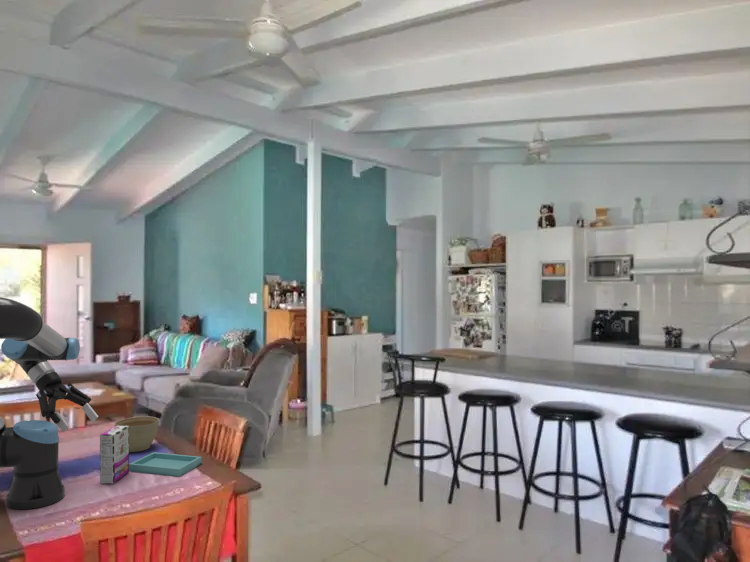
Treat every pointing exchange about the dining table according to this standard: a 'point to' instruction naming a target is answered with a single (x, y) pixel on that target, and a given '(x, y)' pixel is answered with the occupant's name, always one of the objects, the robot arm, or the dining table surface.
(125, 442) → the candy bar box
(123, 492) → the dining table surface
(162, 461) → the tray
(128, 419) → the planter bowl
